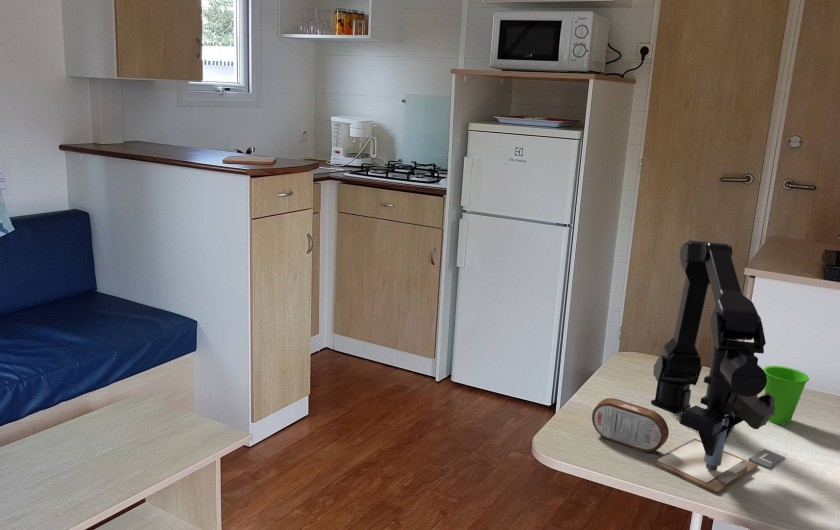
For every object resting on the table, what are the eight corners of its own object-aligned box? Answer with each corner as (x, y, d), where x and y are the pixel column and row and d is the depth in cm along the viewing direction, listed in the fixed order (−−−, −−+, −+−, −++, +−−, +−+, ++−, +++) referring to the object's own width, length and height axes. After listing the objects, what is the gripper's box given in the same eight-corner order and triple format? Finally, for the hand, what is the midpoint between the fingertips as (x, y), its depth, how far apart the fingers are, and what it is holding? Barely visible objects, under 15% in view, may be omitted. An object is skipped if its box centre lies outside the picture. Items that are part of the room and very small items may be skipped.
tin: (666, 453, 141) (672, 414, 139) (661, 459, 138) (667, 419, 136) (593, 429, 149) (598, 392, 147) (587, 434, 147) (592, 396, 145)
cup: (805, 431, 154) (815, 383, 152) (760, 425, 156) (769, 378, 153) (793, 413, 163) (802, 368, 160) (750, 408, 165) (758, 363, 162)
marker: (699, 466, 134) (707, 416, 131) (707, 461, 136) (715, 412, 133) (715, 474, 131) (724, 422, 129) (723, 468, 133) (732, 418, 131)
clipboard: (651, 463, 136) (652, 456, 136) (694, 441, 147) (695, 434, 146) (716, 494, 127) (717, 486, 127) (757, 468, 137) (759, 460, 137)
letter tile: (748, 460, 140) (748, 458, 140) (764, 450, 144) (764, 448, 144) (768, 469, 137) (769, 466, 137) (784, 458, 142) (785, 456, 141)
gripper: (747, 401, 117) (731, 487, 121) (794, 377, 129) (779, 456, 133) (684, 379, 125) (671, 460, 129) (734, 358, 138) (721, 433, 141)
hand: (713, 452), depth 133 cm, fingers closed on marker, 3 cm apart
